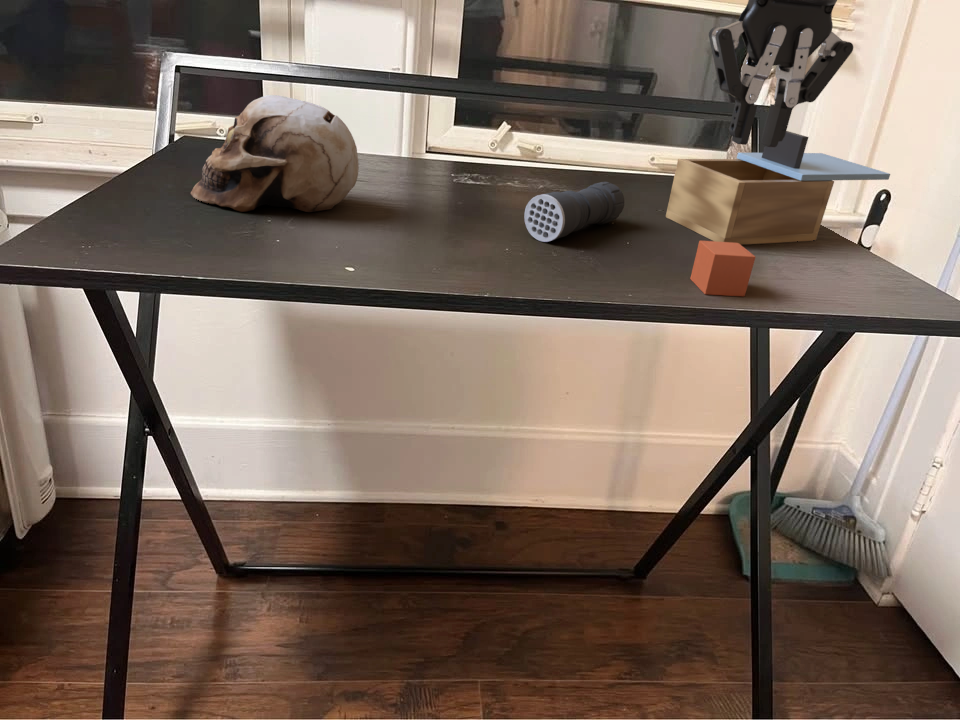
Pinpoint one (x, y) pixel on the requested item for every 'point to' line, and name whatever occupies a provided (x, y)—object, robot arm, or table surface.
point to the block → (722, 268)
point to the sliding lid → (808, 162)
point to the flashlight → (572, 210)
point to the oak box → (745, 202)
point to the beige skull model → (281, 159)
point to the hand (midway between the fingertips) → (754, 143)
